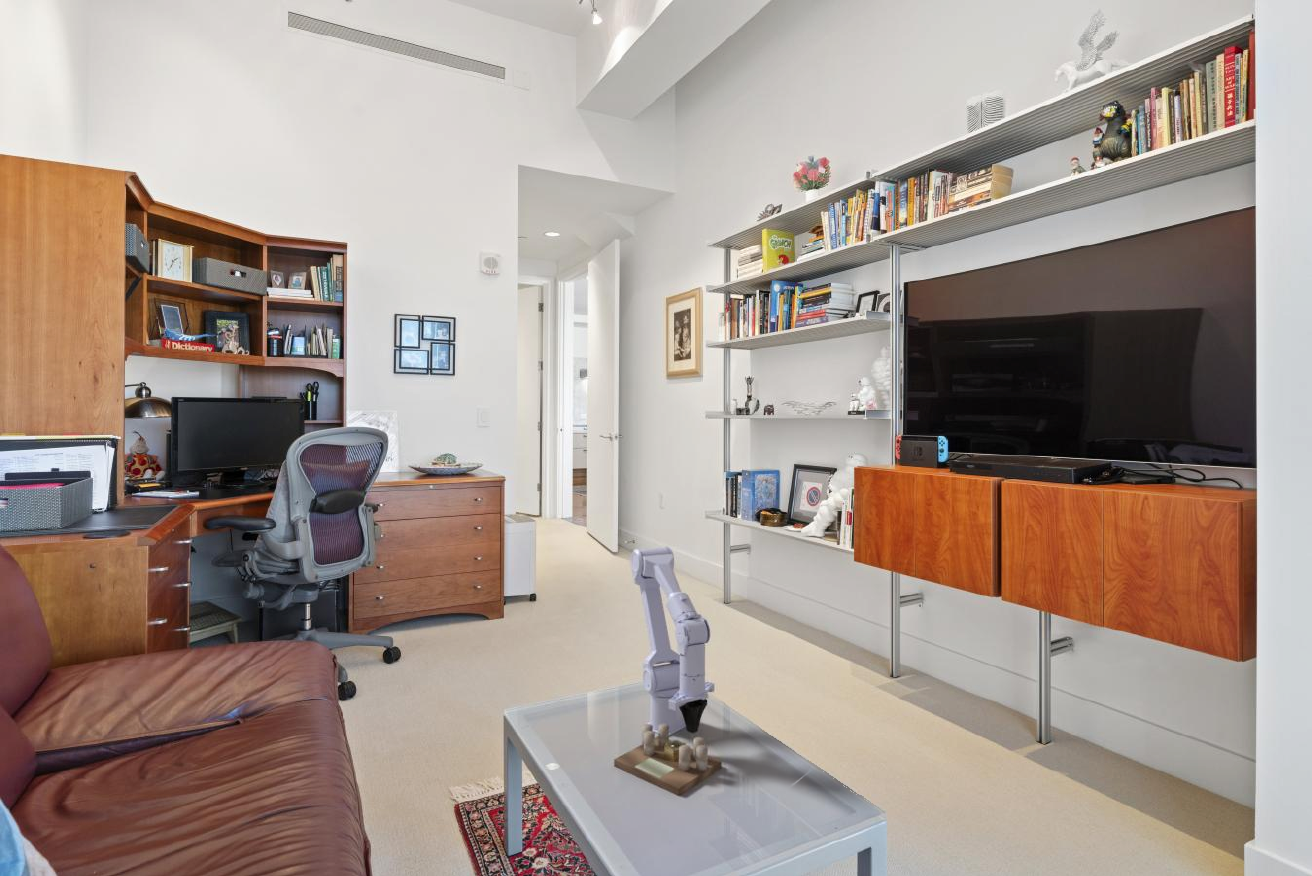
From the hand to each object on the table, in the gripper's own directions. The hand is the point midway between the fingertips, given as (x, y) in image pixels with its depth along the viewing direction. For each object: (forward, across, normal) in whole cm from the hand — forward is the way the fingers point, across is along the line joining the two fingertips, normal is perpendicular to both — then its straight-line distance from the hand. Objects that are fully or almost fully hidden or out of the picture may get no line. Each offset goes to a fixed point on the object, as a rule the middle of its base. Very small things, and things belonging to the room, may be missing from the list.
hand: (692, 731), depth 158 cm
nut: (+3, -6, 0) cm, 7 cm away
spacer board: (+5, -8, 0) cm, 10 cm away
